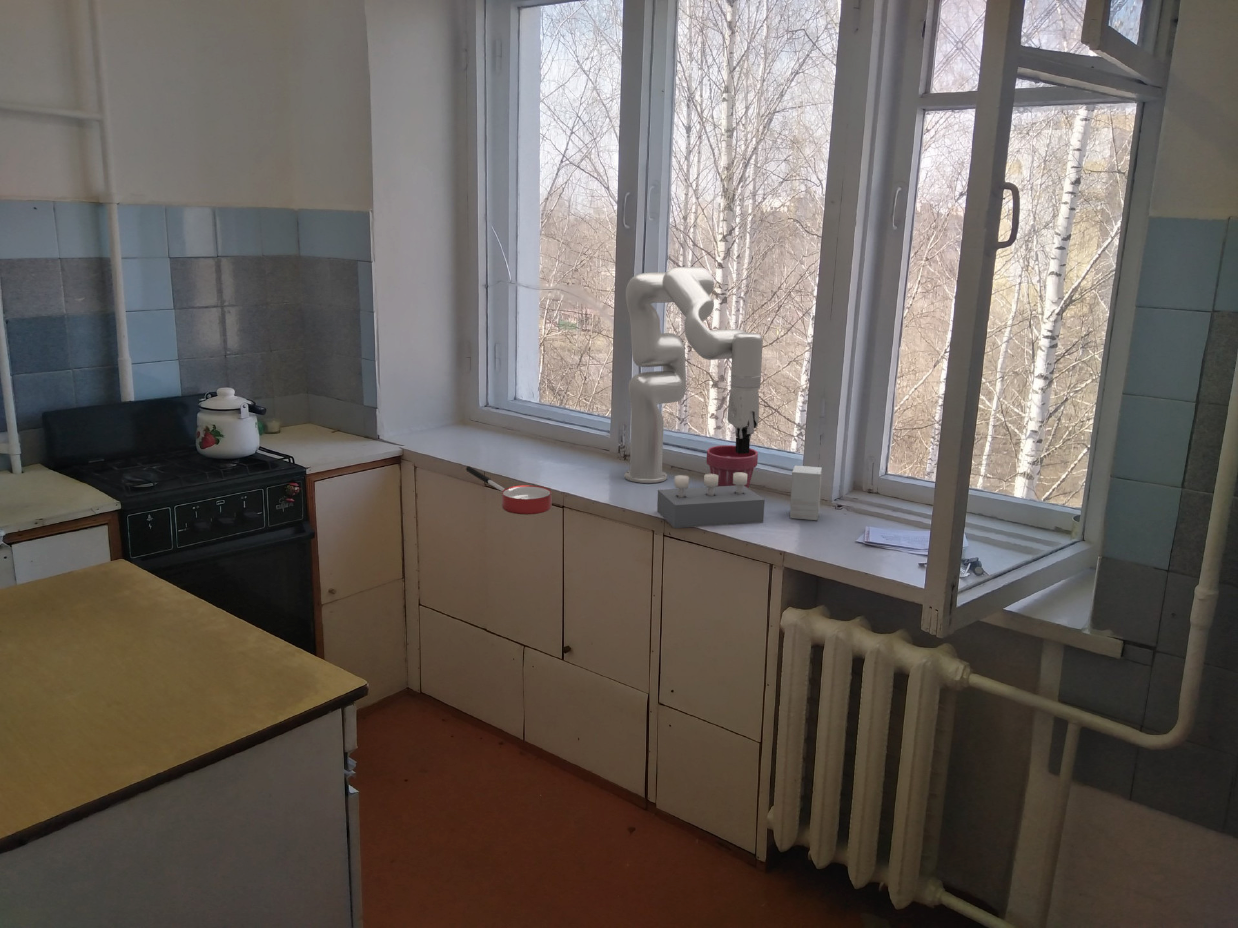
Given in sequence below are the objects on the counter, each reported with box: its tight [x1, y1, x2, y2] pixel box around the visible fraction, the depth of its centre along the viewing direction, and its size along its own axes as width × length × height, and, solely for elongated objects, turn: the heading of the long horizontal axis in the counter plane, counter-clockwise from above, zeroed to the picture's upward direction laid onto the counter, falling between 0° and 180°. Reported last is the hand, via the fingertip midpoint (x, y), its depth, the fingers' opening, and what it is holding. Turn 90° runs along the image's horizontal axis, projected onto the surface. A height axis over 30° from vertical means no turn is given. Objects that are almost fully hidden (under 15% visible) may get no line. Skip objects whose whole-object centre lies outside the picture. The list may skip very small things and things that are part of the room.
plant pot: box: [705, 444, 759, 489], centre depth 266 cm, size 14×14×13 cm
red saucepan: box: [465, 466, 553, 516], centre depth 257 cm, size 32×13×6 cm, turn 51°
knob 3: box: [733, 472, 747, 494], centre depth 248 cm, size 4×4×7 cm
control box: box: [656, 485, 765, 529], centre depth 247 cm, size 14×24×6 cm, turn 106°
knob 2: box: [703, 473, 718, 496], centre depth 246 cm, size 4×4×7 cm
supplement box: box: [789, 465, 823, 521], centre depth 249 cm, size 7×7×13 cm
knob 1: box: [674, 474, 690, 498], centre depth 243 cm, size 4×4×7 cm
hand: (742, 452), depth 245 cm, fingers closed
